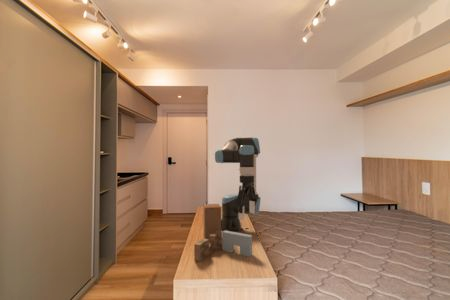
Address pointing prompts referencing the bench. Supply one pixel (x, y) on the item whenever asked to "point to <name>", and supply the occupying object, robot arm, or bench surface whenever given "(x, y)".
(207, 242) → the slotted beam
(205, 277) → the bench surface
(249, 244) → the notched plate
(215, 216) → the wooden block
